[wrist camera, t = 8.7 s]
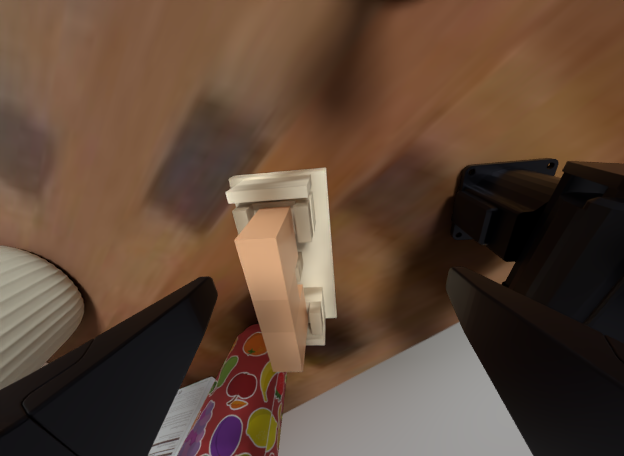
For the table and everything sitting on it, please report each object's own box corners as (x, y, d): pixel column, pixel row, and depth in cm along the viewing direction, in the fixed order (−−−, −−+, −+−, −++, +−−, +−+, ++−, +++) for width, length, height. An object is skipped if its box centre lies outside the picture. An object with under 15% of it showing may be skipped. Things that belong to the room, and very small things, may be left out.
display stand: (325, 167, 18) (324, 181, 14) (336, 309, 25) (337, 346, 21) (234, 175, 19) (207, 190, 15) (268, 310, 26) (257, 346, 22)
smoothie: (267, 366, 31) (181, 708, 13) (220, 334, 29) (35, 695, 11) (310, 342, 28) (277, 738, 10) (261, 304, 26) (104, 730, 8)
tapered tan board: (290, 206, 17) (275, 237, 12) (308, 320, 22) (302, 372, 17) (259, 208, 17) (234, 240, 12) (284, 320, 22) (273, 371, 18)
